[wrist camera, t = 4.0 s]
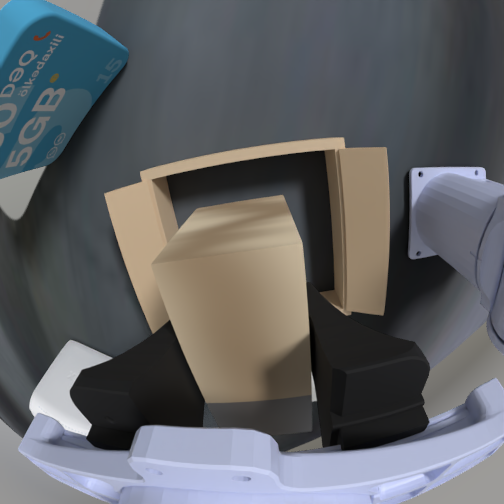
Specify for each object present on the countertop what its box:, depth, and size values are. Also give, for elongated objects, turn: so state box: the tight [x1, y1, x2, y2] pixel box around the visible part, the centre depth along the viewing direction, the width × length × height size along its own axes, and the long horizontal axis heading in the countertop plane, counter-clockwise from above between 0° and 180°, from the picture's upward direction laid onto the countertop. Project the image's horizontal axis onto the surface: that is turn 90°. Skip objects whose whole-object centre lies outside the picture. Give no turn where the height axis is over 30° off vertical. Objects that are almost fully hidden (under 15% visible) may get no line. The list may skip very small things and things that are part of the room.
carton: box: [105, 138, 390, 334], centre depth 19 cm, size 18×13×5 cm
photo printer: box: [30, 340, 112, 436], centre depth 23 cm, size 10×4×12 cm, turn 70°
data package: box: [0, 0, 129, 179], centre depth 11 cm, size 12×4×12 cm, turn 133°
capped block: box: [151, 195, 312, 436], centre depth 11 cm, size 4×9×6 cm, turn 9°
